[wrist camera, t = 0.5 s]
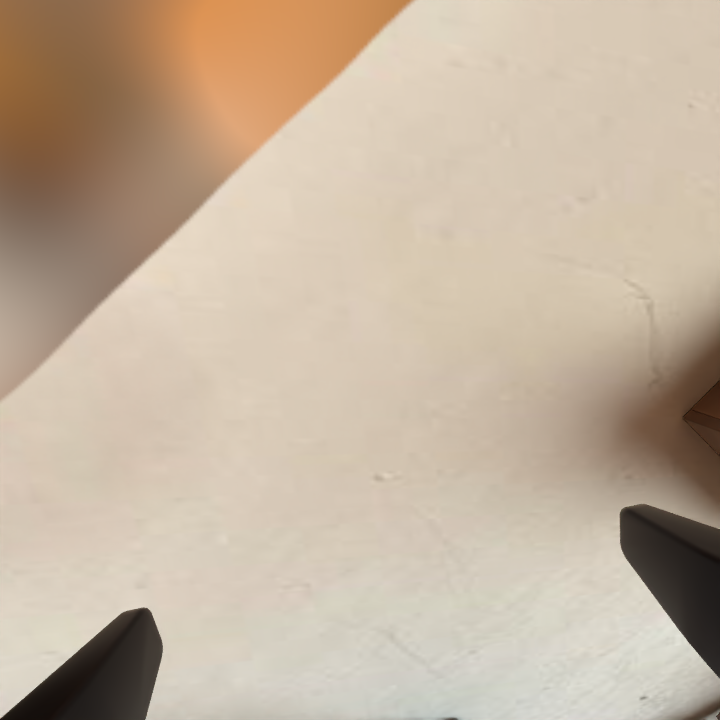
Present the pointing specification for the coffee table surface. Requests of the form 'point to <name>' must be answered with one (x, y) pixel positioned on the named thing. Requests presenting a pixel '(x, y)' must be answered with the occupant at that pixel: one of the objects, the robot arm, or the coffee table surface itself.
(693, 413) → the box
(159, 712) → the coffee table surface
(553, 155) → the coffee table surface
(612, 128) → the coffee table surface
